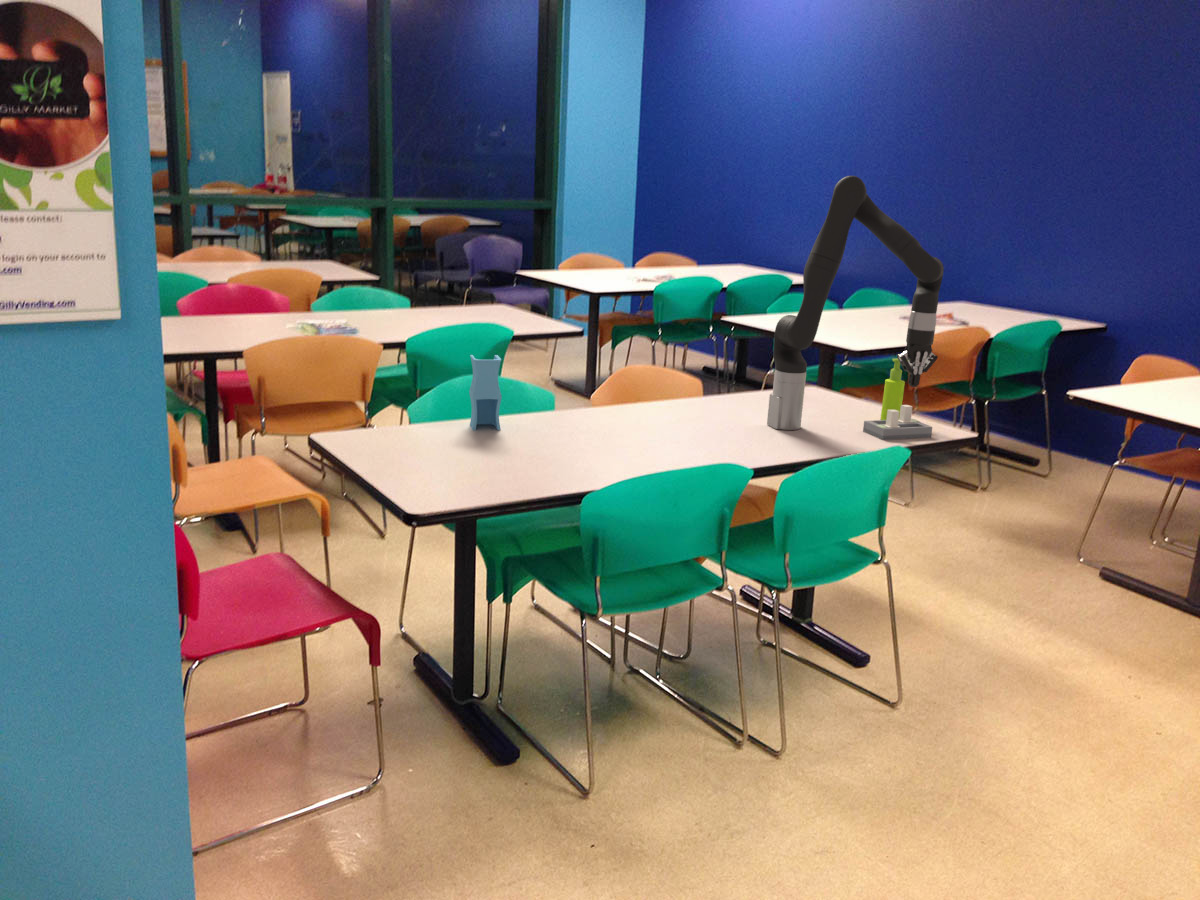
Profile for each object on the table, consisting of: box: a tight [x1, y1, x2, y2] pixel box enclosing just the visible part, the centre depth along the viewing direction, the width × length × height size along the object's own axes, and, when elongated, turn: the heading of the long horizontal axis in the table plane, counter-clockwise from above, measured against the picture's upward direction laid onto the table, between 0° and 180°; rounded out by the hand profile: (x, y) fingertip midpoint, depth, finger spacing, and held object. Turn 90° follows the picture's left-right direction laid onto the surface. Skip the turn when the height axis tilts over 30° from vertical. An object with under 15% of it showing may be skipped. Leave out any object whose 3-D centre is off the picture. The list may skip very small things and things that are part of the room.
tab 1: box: [883, 409, 900, 428], centre depth 302 cm, size 4×3×7 cm
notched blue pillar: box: [469, 354, 502, 432], centre depth 289 cm, size 8×8×20 cm
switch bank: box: [862, 418, 933, 441], centre depth 306 cm, size 17×10×3 cm, turn 110°
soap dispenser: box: [879, 358, 909, 420], centre depth 319 cm, size 6×7×20 cm
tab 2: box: [898, 404, 913, 423], centre depth 309 cm, size 4×3×7 cm
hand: (913, 386), depth 301 cm, fingers closed
